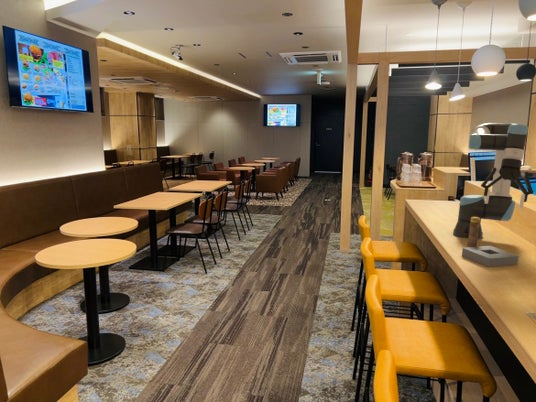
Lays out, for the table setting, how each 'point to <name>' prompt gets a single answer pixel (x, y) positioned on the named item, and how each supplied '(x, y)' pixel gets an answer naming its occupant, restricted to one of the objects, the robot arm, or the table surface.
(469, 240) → the yellow capped peg
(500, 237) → the table surface
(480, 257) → the socket plate
